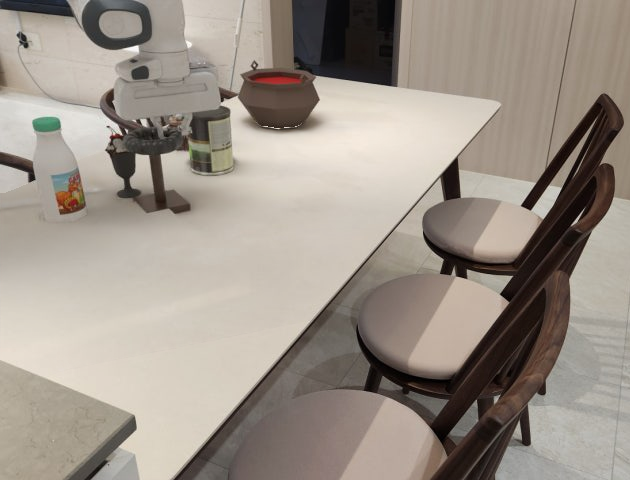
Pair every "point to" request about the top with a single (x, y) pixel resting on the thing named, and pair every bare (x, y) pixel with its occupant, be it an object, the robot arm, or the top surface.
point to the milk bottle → (57, 173)
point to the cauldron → (278, 96)
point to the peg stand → (160, 192)
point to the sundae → (122, 164)
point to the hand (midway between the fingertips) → (173, 136)
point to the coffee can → (211, 142)
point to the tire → (152, 141)
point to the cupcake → (173, 124)
